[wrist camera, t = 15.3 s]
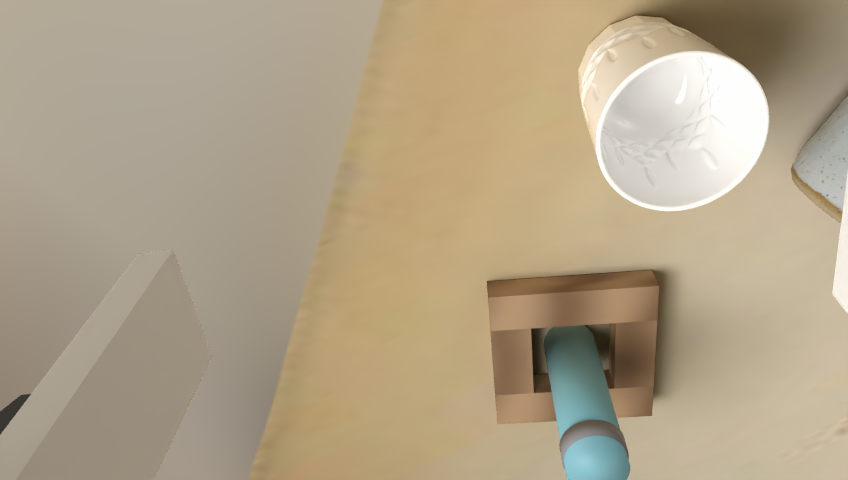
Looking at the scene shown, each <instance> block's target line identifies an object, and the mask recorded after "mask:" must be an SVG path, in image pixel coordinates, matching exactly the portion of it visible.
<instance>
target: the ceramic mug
mask: <svg viewBox="0 0 848 480" xmlns="http://www.w3.org/2000/svg"><path fill="white" fill-rule="evenodd" d="M791 173H792V180H793V181H794V183H795V184H796V186H797V187H798V188H799V189H800V190H801V191H802V192H803V193H804V194H805V195H806V196H807V197H808V198H809V199H810V200H811V201H812V202H813V203H815V204H816V205H817V206H818V207H819V208H821V209H822V210H823V211H825V212H826V213H827V214H828V215H830V216H831V217H832V218H834V219H835V220H837V221H838V222H840V223H841V221H842V213H843V205H844V197H845V189H846V181H847V173H848V95H847V97H846V98H845V99H844V100H843V101H842V102H841V104H840V105H839V106H838V107H837V108H836V109H835V111H834V112H833V113H832V114H831V115H830V117H829V118H828V119H827V120H826V121H825V123H824V124H823V125H822V126H821V127H820V128H819V130H818V131H817V132H816V133H815V134H814V135H813V136H812V137H811V138H810V140H809V141H808V142H807V143H806V144H805V145H804V147H803V148H802V150H801V151H800V153H799V154H798V156H797V158H796V159H795V161H794V163H793V165H792V168H791Z"/></svg>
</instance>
